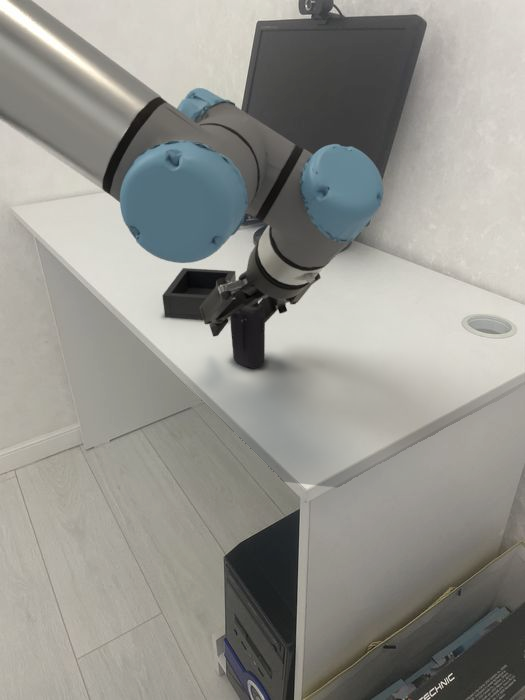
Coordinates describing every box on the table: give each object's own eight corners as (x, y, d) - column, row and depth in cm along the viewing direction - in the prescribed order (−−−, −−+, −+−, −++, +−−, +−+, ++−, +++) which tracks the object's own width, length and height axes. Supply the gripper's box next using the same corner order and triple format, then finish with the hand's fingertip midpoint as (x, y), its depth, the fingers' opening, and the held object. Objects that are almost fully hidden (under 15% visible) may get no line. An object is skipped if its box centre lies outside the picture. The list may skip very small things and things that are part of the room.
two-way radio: (269, 363, 79) (269, 271, 71) (251, 376, 76) (250, 282, 68) (241, 351, 82) (238, 262, 74) (223, 364, 79) (218, 272, 71)
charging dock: (164, 317, 92) (162, 295, 90) (184, 288, 102) (182, 267, 100) (221, 321, 91) (220, 299, 88) (236, 291, 101) (235, 270, 99)
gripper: (216, 305, 53) (180, 361, 74) (372, 271, 61) (300, 331, 82) (195, 240, 55) (166, 313, 76) (351, 214, 62) (285, 287, 83)
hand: (236, 322), depth 79 cm, fingers open, 7 cm apart
